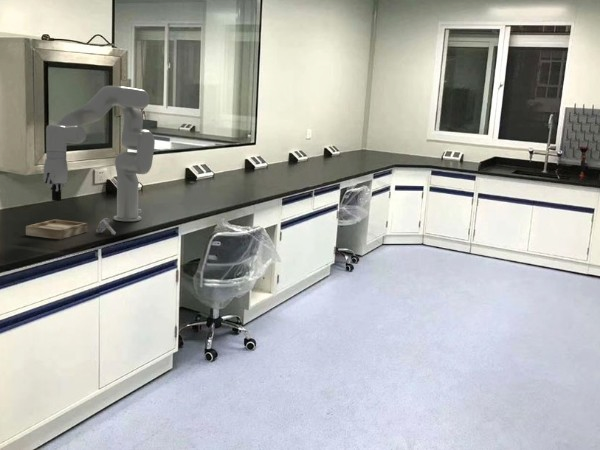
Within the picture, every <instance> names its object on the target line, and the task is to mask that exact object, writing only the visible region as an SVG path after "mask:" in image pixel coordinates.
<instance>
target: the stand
mask: <svg viewBox="0 0 600 450" xmlns="http://www.w3.org/2000/svg"><path fill="white" fill-rule="evenodd" d="M110 221H111V219H110V218H108V217H105V218H103V219H102V220H101V221H99V223H98V225H97V228H96V233H98V234H99V233H103V232H104V231H106V230H108V231H109V232H110V233H111V235H113V236H115V235H116V233H117V232H116V231H115V230H114V228H112V226H111V225H110Z"/></svg>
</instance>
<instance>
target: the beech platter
mask: <svg viewBox="0 0 600 450" xmlns="http://www.w3.org/2000/svg"><path fill="white" fill-rule="evenodd" d="M87 232H88V222H81V221H79V222H78V221H71V220H64V219H63V220H62V219H51V220H46V221H42V222H41V221H40V222H37V223H34V224H29V225H26V226H25V236H29V237H30V236H31V237H38V238H39V237H40V238H46V239H55V240H64V239H67V238H70V237H74V236H78V235H81V234H84V233H87Z"/></svg>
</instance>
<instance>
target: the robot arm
mask: <svg viewBox="0 0 600 450" xmlns="http://www.w3.org/2000/svg"><path fill="white" fill-rule="evenodd" d="M149 95H150V94H149V93H148V92H147V91H146V90H144V89H139V88H134V87H133V88H132V87H127V86H121V85H105V86H103V87H102V88H100V89H99V90H98V91H97V92H96V93H95V94H94V95H93V96H92V97H91V99H89V100H88V101H87V102H86V103H85V105H82V106H80V107H78V108H76V109H75V110H73V111H71V112H69V113H67V114H66V115H65V116H64V117H62V118H61V120H60V121H58V122H57V124H49V125H47V126H46V129H45V134H46V135H45V138H46V139H45V140H46V142H45V144H46V145H45V147H46V149H45V150H46V152H45V154H46V157H45V159H44V165H43V183H44V184H46V188H50V191H51V201H54V202H61V201H62V191H63V187H64V186H67V182H68V178H69V169H68V162H67V161H68V160H67V143H68V144H76V145H78V144H82V143H83V142H84V141H86V138H87V131H86V130H85V128H84V127H82V126H84V125H87V124H93V123H97V122H98V121H101V120H102V119H103V118H104V116H105V115H106V114H107V113H108V112H109V111H110V110H111V109H112V108H113V107H114V106H117V107H119V108H120V109H121V111H122V114H123V127H122V131H121V133H122V134H121V145H122V146H123V147H124V148H125V149H128V150H134V151H136V152H133V151H122V152H120V153H118V154H117V155H116V157H115V160H114V166H115V170H116V180H117V181H116V183H117V184H116V185H117V186H116V215H113V220H114V221H118V222H137V221H142V216H140V215H139V214H141V213H142V211H143V210H142V209H141V208H139V179H138V175H146V174H148V173H149V172H150V170H151V169H152V165H153V159H154V152H155V144H156V143H155V141H156V140H155V136H154V134H153V133H152V132H151V131H150V130H148V129H143V125H144V117H143V113H142V111H141V110H142V109H145V108H147V107H148V105H149V103H150V96H149ZM140 109H141V110H140Z"/></svg>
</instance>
